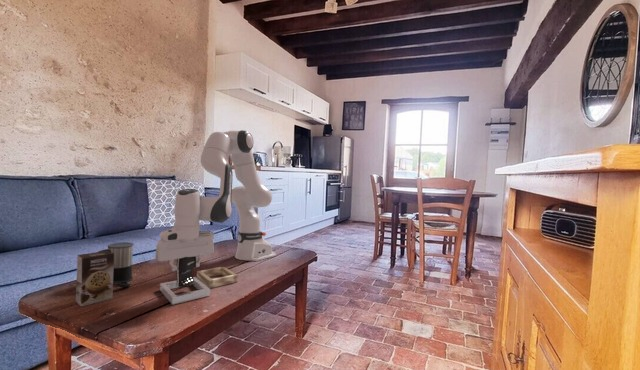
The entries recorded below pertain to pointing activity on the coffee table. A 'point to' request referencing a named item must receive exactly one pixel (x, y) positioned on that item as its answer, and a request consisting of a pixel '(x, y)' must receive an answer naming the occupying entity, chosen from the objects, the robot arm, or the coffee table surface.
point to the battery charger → (185, 271)
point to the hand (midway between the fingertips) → (185, 268)
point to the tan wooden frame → (210, 283)
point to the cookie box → (94, 277)
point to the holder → (175, 299)
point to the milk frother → (121, 262)
